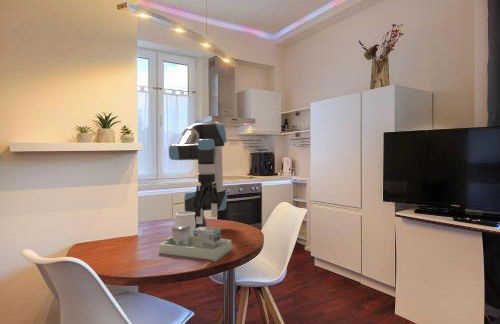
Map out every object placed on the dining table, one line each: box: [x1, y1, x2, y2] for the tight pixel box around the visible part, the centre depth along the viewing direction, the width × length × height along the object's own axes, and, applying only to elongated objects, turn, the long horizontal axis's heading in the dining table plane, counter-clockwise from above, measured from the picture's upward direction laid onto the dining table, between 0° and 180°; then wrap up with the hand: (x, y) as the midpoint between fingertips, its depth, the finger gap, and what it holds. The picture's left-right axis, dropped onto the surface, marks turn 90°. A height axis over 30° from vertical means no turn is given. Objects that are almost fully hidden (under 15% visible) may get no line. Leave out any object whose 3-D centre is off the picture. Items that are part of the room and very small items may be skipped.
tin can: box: [171, 225, 190, 247], centre depth 145 cm, size 8×8×10 cm
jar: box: [174, 211, 196, 236], centre depth 161 cm, size 11×10×15 cm
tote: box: [158, 236, 233, 263], centre depth 142 cm, size 17×28×6 cm, turn 69°
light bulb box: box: [193, 227, 221, 249], centre depth 139 cm, size 11×7×11 cm, turn 68°
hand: (207, 220), depth 140 cm, fingers open, 13 cm apart
